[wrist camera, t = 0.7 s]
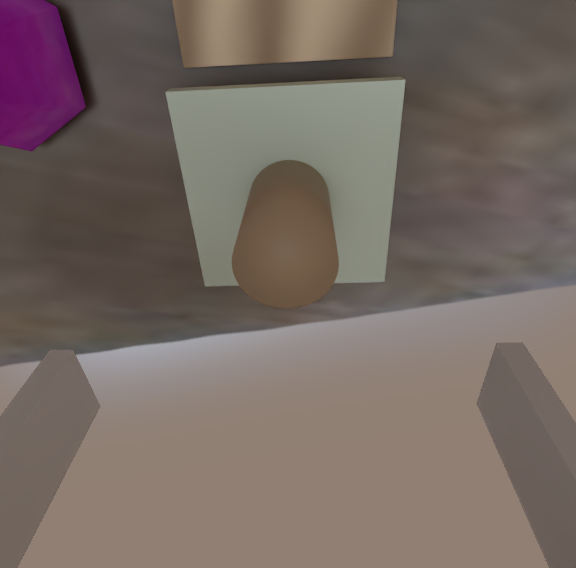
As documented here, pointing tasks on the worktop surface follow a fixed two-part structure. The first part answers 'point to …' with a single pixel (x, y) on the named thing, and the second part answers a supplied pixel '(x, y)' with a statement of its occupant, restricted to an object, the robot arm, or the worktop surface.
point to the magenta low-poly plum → (34, 74)
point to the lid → (290, 182)
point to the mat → (283, 30)
